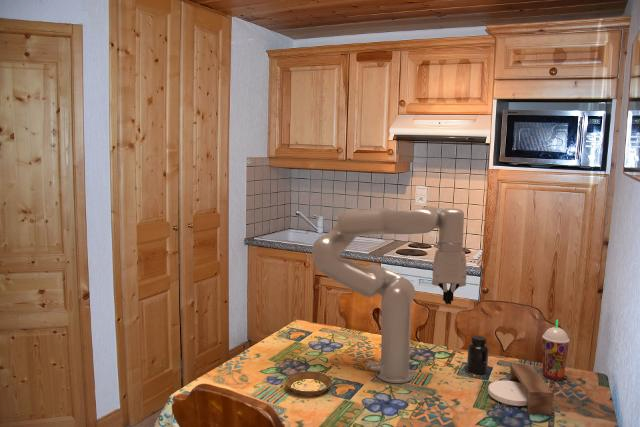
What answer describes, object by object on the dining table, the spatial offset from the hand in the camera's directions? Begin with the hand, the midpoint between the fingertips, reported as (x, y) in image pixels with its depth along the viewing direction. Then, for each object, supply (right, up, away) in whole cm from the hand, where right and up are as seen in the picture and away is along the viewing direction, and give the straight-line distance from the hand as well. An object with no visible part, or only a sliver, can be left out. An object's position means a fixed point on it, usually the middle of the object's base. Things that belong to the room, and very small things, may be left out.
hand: (447, 303), depth 169 cm
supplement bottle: (+13, -26, +13) cm, 32 cm away
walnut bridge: (+23, -28, -6) cm, 37 cm away
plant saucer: (-45, -27, -1) cm, 53 cm away
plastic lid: (+18, -29, -6) cm, 35 cm away
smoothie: (+38, -27, +10) cm, 48 cm away
